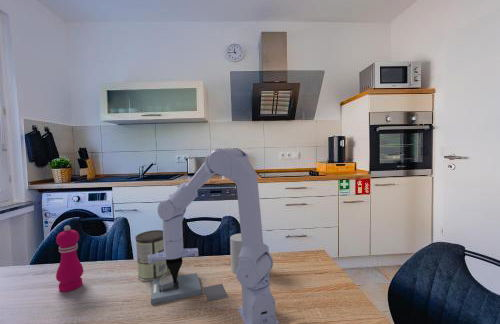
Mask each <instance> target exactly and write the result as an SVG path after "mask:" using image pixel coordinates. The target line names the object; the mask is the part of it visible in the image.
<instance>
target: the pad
mask: <svg viewBox="0 0 500 324" xmlns="http://www.w3.org/2000/svg"><path fill="white" fill-rule="evenodd" d="M203 292H204V294H205V295H204V296H205V297H206V301H207V303H208V302H213V301H219V300H222V299H226V298H229V295H228V294H227V291H226V289H225V287H224V285H223V283H218V284H214V285H208V286H204V287H203Z"/></svg>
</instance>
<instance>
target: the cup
mask: <svg viewBox="0 0 500 324" xmlns="http://www.w3.org/2000/svg"><path fill="white" fill-rule="evenodd" d="M229 241H230V243H229V244H230V270H231V273H233V274H235V275H236V270H237V267H238V256H239V254H240V251H241V248H242V239H241V232H239V233H235V234H232V235H230V239H229Z"/></svg>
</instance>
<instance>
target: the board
mask: <svg viewBox="0 0 500 324" xmlns="http://www.w3.org/2000/svg"><path fill="white" fill-rule="evenodd" d="M172 279H173V277H172ZM173 286H177V287H178V288H177V289H174V290H170V291H165V292H161V291H160V282H159V278H158V279H155V280H151V292H150V304H151V305H154V304H159V303H165V302H169V301H174V300H179V299H184V298H190V297H194V296H200V295H202V286H201V283H200V280H199V277H198V273H197V272H193V273H187V274H183V275H178V276H177V283H175V284H174V281H173Z"/></svg>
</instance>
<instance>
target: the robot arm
mask: <svg viewBox="0 0 500 324" xmlns="http://www.w3.org/2000/svg"><path fill="white" fill-rule="evenodd" d="M214 175H219V176H221V177H224V178H227V179H229V180H230V181H231V182H233V183H234V184H235V185H236V192H237V193H236V195H237V202H238V203H237V204H238V217H239V226H240V233H241V239H242V248H241V251H240V254H239V256H238V267H237V270H236V274H235V275H236V276H235V277H236V278H237V281H238V282H239V284H241V285H240V287H241V302H242V305H241V306H239V307H237V311H238V313H239V315H240V318H241V319H242V321H243V323H244V324H280V321H279V320H278V318H277V317H276V300H275V297H274V295H273V293H272V291H271V281H270V279H271V277H270V272H271V271H272V269H273V266H274V260H273V258H272V256H271V254H270V250H269V246H268V245H267V244H266V243H264V237H263V227H262V215H261V203H260V194H259V193H260V191H259V181H258V174H257V172H256V170H255V169H254V167H253V165H252V163H251V161H250V160H249V154H248V153H246V152H245V151H243V150H242V149H240V148H236V147H234V148H215V149H213V150H212V151H211V152H210V153H209V155H207V156H206V157H204V162H203V163H202V165H201V166H200V167H199V168H198V170H197V171H196V172H195V173H194V175H193V176H192V177H191V178H190V180H189V181H188V182H182V183H179V184H178V185H177V186H176V187H177V188H176V190H175V191H174V192H173V193H171V194H170V195H168V197H169V198H168V199H166V200H162V201H160V202H159V204H158V206H157V215H158V217H159V219H161V220H162V231H163V243H164V252H160V253H156V254H152V255H148V264H151V263H152V262H158V261H165V260H166V265H167V267H168V270H169V272H170V275H171V276H172V277H173V281H174V284H175V283H177V276H179V271H180V269H181V267H182V264H183V258H184V259H185V258H190V257H195V258H197V257H199V249H198V247H195V248H194V247H193V248H184V237H183V235H184V234H183V233H184V232H183V231H184V230H183V221H184V215H185V213H186V211H187V208H188V206H189V205H191V204H192V203H193V202H194V200H195V199H196V198H197V197H198V194H199V193H198V190H199V189H200V188H202V187H203V186H204V185H205V184H206V183H207V182H208V181H210V179H211V178H212V177H213V176H214Z"/></svg>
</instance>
